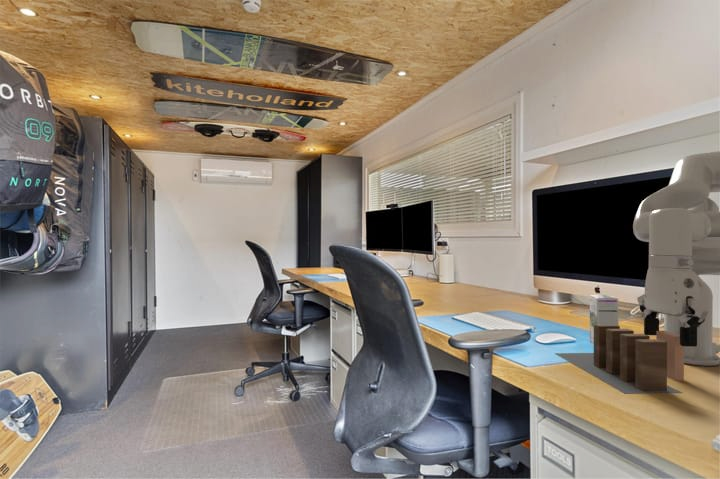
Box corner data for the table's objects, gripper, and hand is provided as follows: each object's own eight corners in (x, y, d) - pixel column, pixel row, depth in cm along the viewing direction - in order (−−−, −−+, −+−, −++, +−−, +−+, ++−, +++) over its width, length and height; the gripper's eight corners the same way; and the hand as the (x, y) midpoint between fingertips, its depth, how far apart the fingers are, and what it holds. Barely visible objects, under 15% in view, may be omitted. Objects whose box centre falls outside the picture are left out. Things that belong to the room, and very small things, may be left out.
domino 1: (593, 365, 92) (593, 324, 92) (613, 364, 92) (613, 324, 92) (599, 368, 90) (599, 326, 90) (619, 367, 90) (619, 326, 90)
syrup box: (619, 349, 106) (619, 297, 106) (596, 347, 108) (596, 297, 107) (610, 343, 112) (610, 294, 112) (588, 342, 113) (588, 294, 113)
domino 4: (635, 387, 78) (635, 339, 78) (658, 387, 79) (659, 339, 78) (642, 391, 76) (642, 342, 76) (666, 390, 77) (667, 342, 76)
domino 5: (664, 373, 87) (664, 330, 87) (683, 382, 82) (684, 336, 82) (656, 373, 87) (656, 330, 87) (674, 382, 82) (675, 336, 82)
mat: (598, 354, 102) (598, 352, 102) (683, 394, 76) (683, 392, 76) (554, 354, 101) (554, 353, 101) (624, 395, 75) (624, 393, 75)
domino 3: (619, 379, 83) (620, 333, 83) (642, 378, 83) (642, 333, 83) (626, 382, 81) (626, 336, 81) (649, 382, 81) (649, 336, 81)
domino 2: (606, 371, 87) (606, 328, 87) (627, 371, 88) (627, 328, 87) (612, 374, 85) (612, 331, 85) (633, 374, 86) (633, 330, 85)
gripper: (724, 266, 76) (723, 351, 76) (655, 262, 93) (654, 331, 93) (688, 265, 76) (687, 350, 75) (625, 261, 93) (624, 331, 93)
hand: (668, 340), depth 84 cm, fingers open, 9 cm apart
